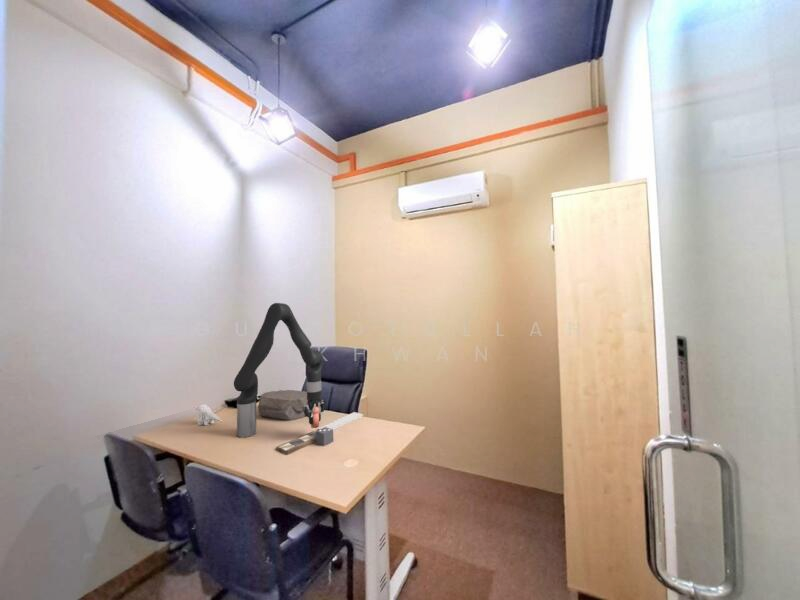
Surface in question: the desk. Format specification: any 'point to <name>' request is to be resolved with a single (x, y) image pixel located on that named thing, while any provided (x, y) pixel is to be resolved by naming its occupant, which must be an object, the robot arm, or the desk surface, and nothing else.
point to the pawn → (315, 418)
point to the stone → (283, 404)
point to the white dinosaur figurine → (206, 415)
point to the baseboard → (342, 421)
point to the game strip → (297, 443)
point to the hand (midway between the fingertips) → (314, 422)
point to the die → (324, 436)
